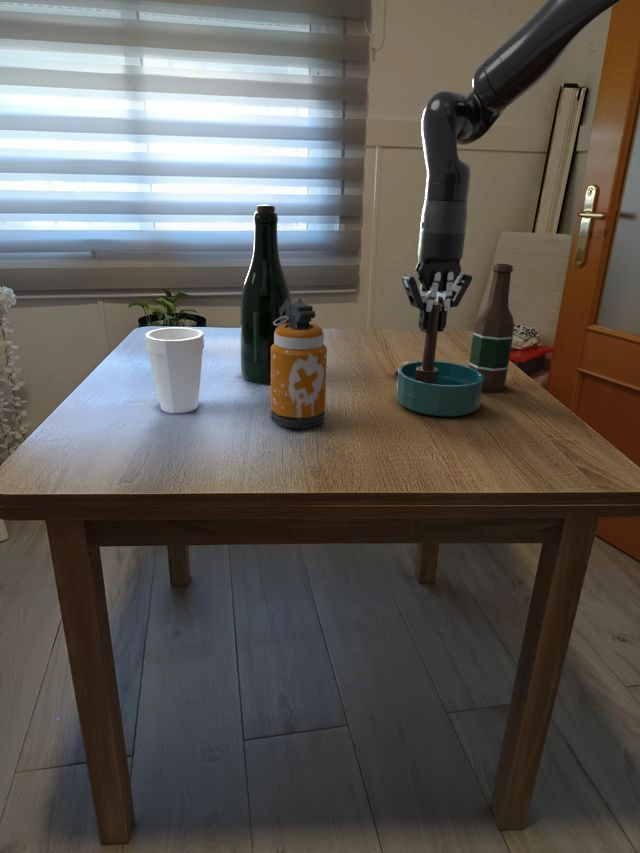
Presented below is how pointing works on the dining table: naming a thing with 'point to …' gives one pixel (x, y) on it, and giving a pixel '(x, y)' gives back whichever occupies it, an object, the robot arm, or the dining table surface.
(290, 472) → the dining table surface
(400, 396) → the bowl
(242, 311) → the green wine bottle
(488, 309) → the beer bottle
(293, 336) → the canister
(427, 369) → the muddler
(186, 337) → the foam cup
